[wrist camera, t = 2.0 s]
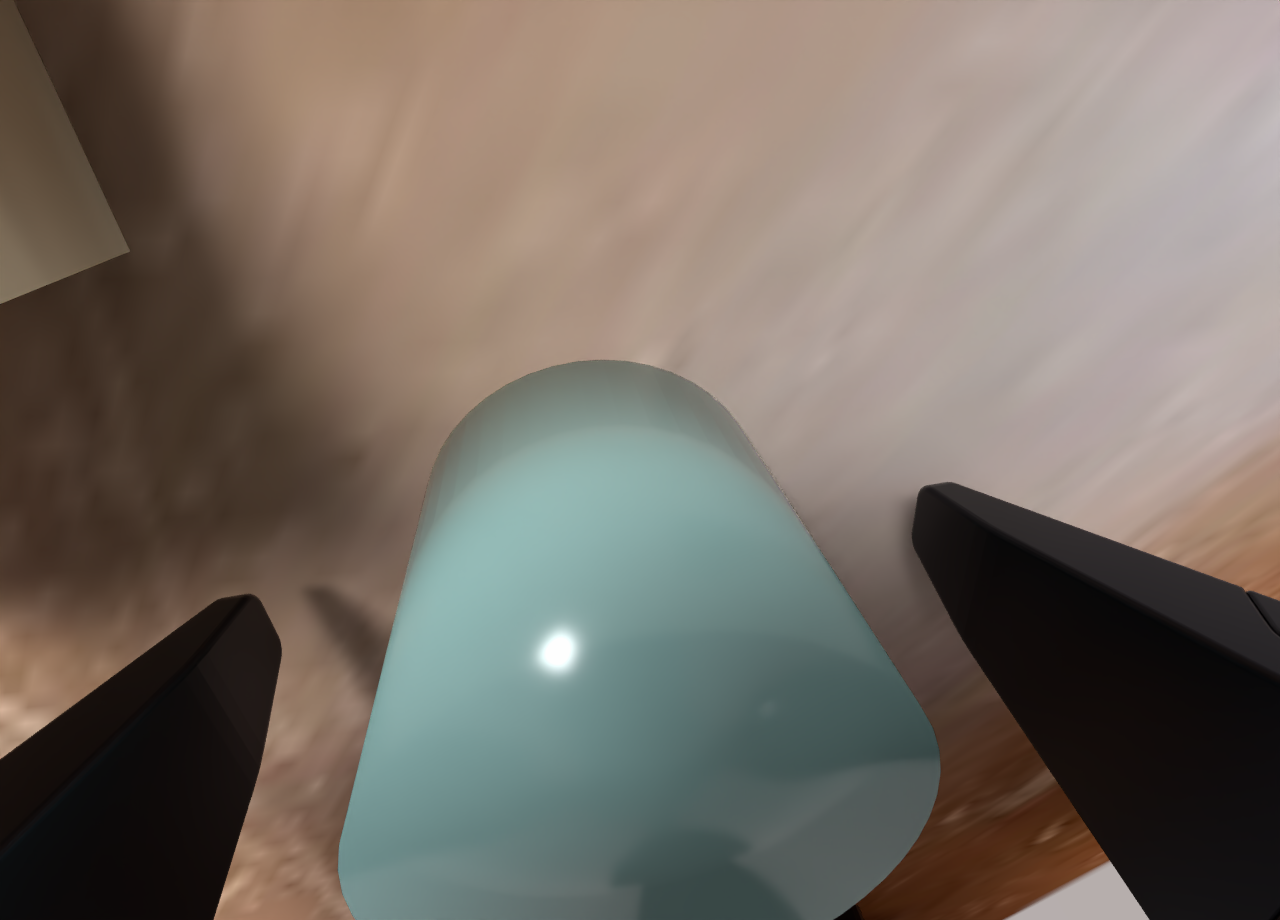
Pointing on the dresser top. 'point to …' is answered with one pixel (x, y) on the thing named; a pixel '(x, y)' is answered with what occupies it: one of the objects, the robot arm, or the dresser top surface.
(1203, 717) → the robot arm
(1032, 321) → the dresser top surface
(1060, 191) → the dresser top surface
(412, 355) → the dresser top surface
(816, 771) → the teal rounded cylinder
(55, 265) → the tower base
